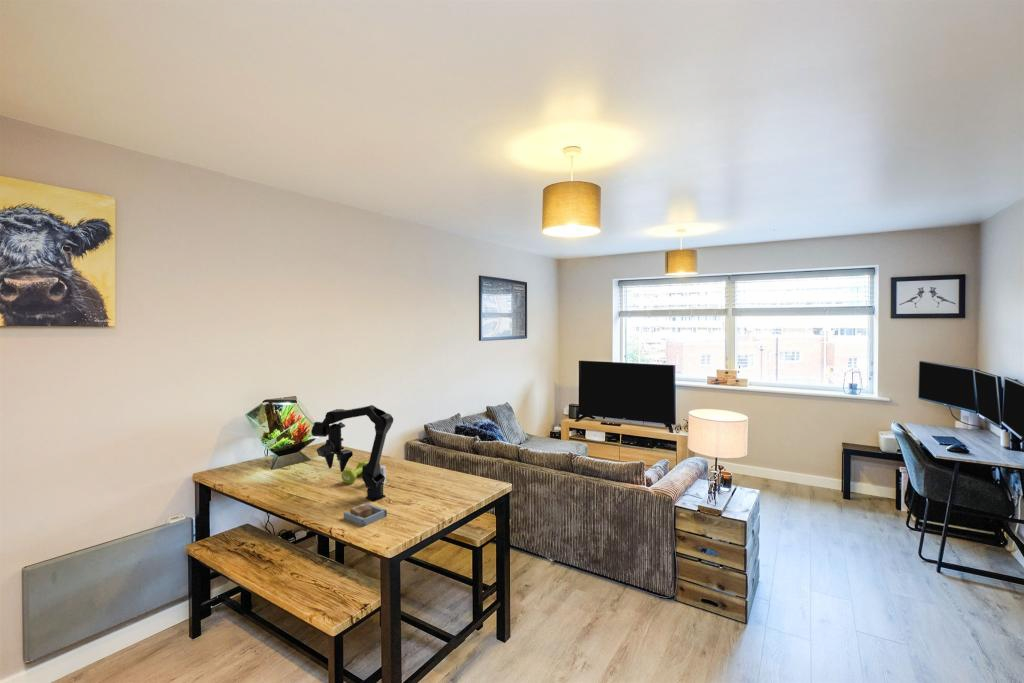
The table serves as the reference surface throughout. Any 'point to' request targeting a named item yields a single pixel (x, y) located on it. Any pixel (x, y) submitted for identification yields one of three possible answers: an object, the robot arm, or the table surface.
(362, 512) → the block
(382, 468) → the medicine box
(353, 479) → the dumbbell
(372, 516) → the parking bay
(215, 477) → the table surface
